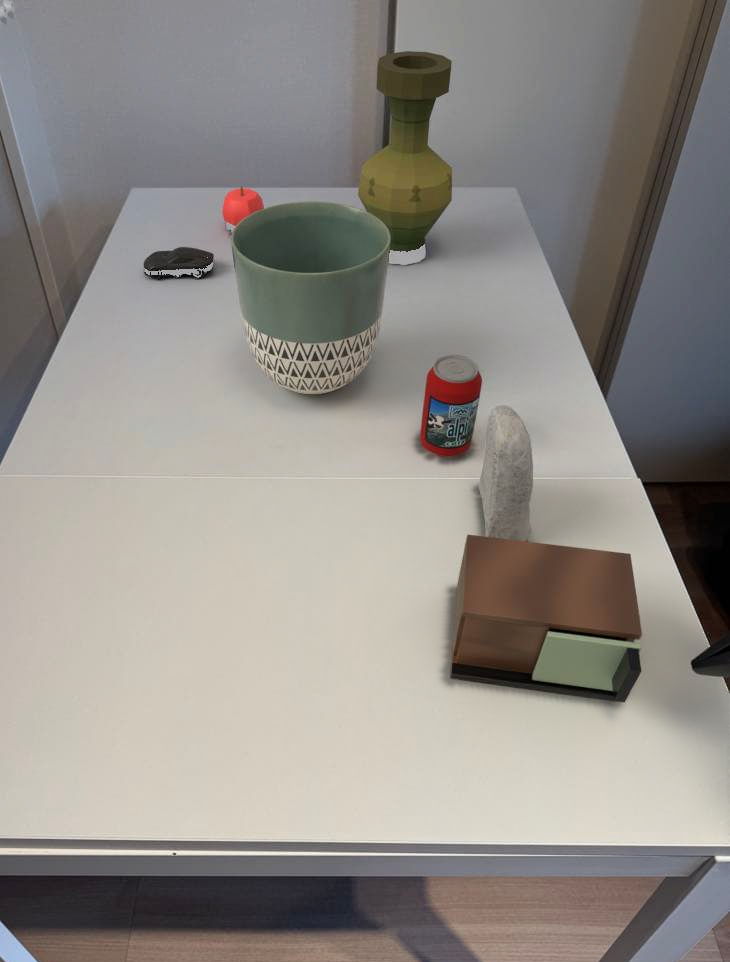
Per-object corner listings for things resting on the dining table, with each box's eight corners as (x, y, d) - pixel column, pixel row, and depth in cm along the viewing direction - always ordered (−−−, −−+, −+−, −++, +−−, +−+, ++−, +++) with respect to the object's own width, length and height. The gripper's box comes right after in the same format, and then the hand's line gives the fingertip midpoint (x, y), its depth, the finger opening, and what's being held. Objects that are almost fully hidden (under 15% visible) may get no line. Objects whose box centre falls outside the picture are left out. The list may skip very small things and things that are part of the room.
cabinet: (606, 609, 82) (630, 553, 76) (616, 701, 74) (644, 647, 68) (455, 590, 84) (467, 534, 77) (450, 678, 76) (462, 623, 70)
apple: (235, 218, 147) (231, 175, 141) (273, 225, 145) (271, 182, 139) (215, 235, 142) (211, 192, 136) (254, 243, 140) (251, 199, 134)
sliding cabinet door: (618, 686, 74) (640, 643, 69) (621, 713, 72) (644, 670, 67) (532, 674, 75) (547, 631, 70) (532, 701, 73) (548, 658, 68)
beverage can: (429, 465, 98) (440, 387, 89) (411, 433, 103) (419, 355, 94) (478, 456, 99) (493, 378, 91) (458, 424, 104) (471, 347, 95)
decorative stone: (467, 484, 96) (486, 384, 85) (515, 485, 96) (540, 384, 85) (479, 549, 88) (501, 448, 77) (531, 549, 88) (560, 448, 77)
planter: (225, 410, 106) (208, 262, 90) (266, 334, 119) (258, 194, 104) (366, 431, 103) (373, 282, 87) (392, 351, 116) (403, 209, 100)
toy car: (147, 264, 134) (143, 243, 132) (216, 263, 135) (213, 242, 132) (143, 280, 130) (139, 259, 128) (214, 279, 131) (211, 258, 128)
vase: (336, 248, 139) (339, 58, 117) (403, 224, 145) (417, 40, 123) (396, 284, 130) (411, 86, 108) (465, 257, 136) (491, 65, 114)
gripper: (816, 460, 61) (632, 539, 70) (899, 653, 48) (661, 719, 58) (871, 539, 66) (692, 604, 75) (958, 733, 53) (730, 782, 62)
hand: (693, 668), depth 67 cm, fingers closed
